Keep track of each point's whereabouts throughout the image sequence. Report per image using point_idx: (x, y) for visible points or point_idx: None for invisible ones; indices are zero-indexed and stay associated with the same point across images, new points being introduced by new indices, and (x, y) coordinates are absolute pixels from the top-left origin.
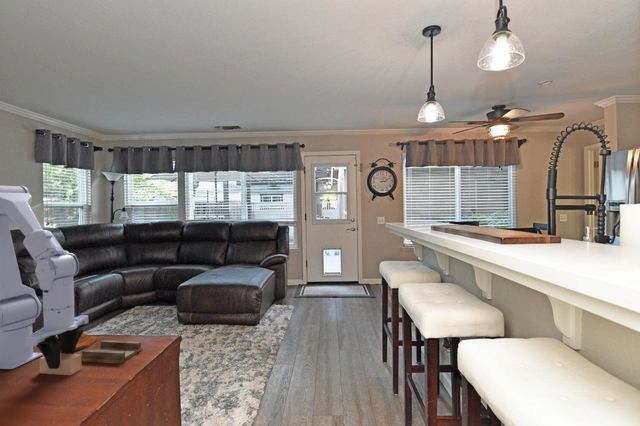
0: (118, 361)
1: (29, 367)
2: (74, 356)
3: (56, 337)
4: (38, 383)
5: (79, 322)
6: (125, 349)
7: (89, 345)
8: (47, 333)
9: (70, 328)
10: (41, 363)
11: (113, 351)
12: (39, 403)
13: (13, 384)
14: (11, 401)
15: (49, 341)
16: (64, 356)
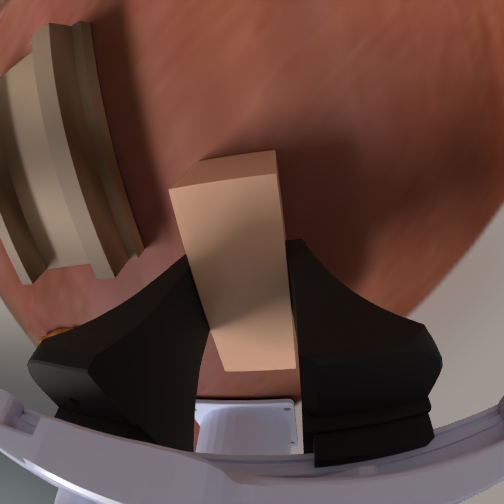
0: (85, 33)
1: (262, 375)
2: (212, 204)
3: (313, 431)
4: (376, 234)
5: (22, 443)
6: (7, 135)
7: (69, 328)
8: (490, 480)
9: (198, 501)
10: (294, 340)
11: (42, 97)
12: (493, 77)
13: None
14: (491, 203)
15: (409, 405)
16: (238, 273)
